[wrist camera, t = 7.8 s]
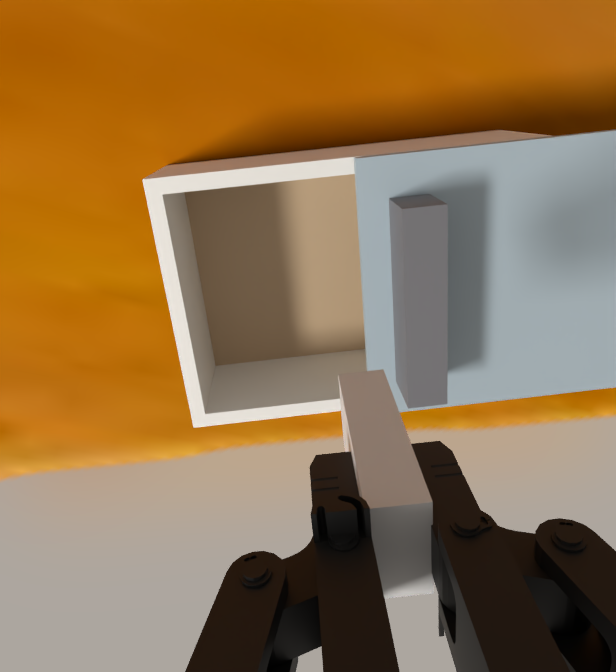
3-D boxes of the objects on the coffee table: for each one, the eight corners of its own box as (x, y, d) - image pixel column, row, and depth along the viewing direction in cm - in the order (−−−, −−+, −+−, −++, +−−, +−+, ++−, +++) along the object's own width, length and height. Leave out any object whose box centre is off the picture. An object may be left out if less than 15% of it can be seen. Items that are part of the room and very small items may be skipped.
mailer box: (498, 129, 34) (552, 135, 27) (490, 341, 39) (534, 388, 33) (167, 164, 33) (142, 179, 27) (206, 373, 39) (193, 427, 32)
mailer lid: (761, 113, 27) (830, 115, 24) (709, 370, 32) (759, 401, 29) (353, 157, 27) (365, 165, 23) (369, 410, 32) (380, 445, 29)
